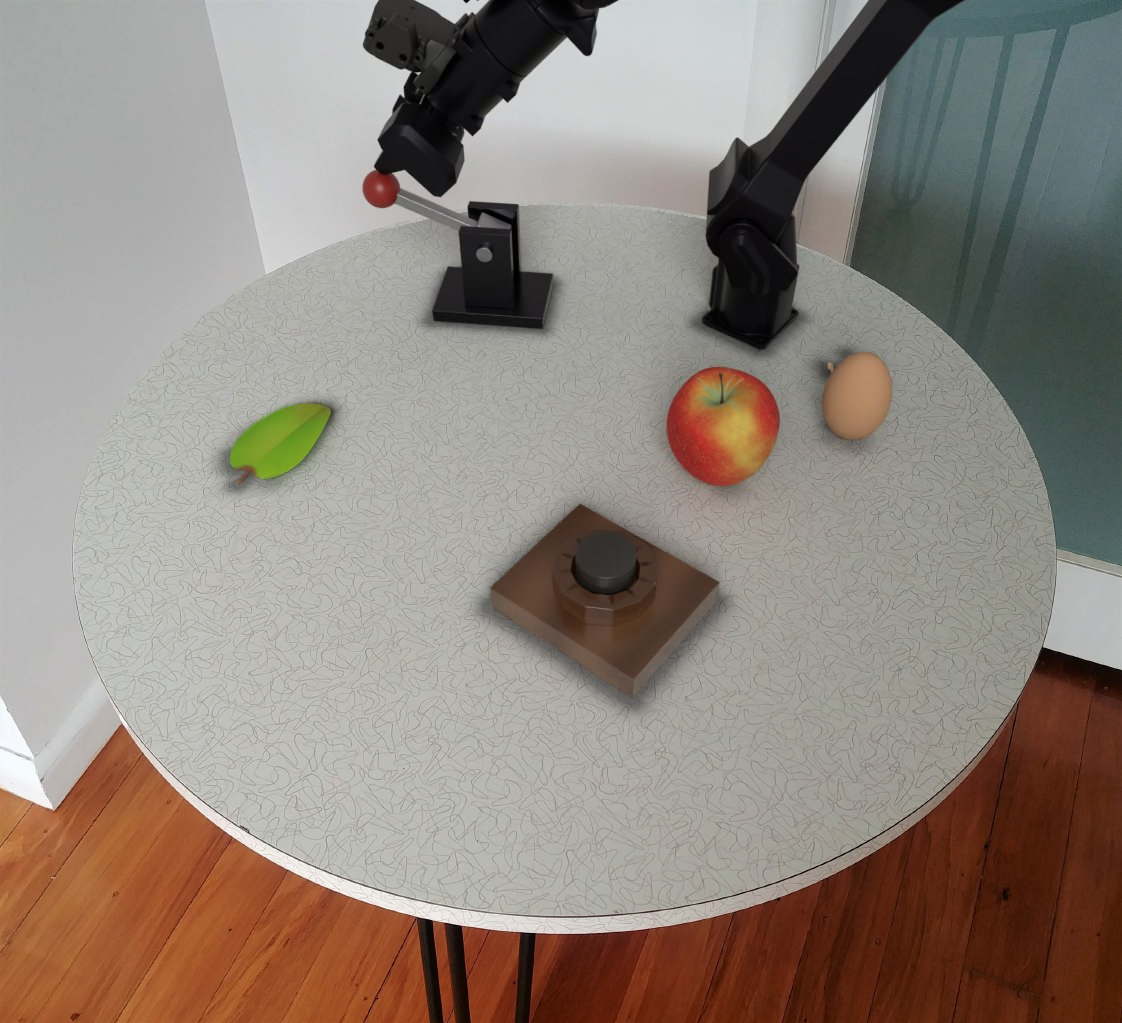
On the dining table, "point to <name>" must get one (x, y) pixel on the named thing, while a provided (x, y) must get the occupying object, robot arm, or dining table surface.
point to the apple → (722, 425)
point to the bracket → (493, 276)
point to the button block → (605, 603)
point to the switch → (419, 203)
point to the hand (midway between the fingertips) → (378, 169)
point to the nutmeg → (831, 366)
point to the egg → (857, 396)
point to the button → (605, 563)
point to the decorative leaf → (279, 440)
